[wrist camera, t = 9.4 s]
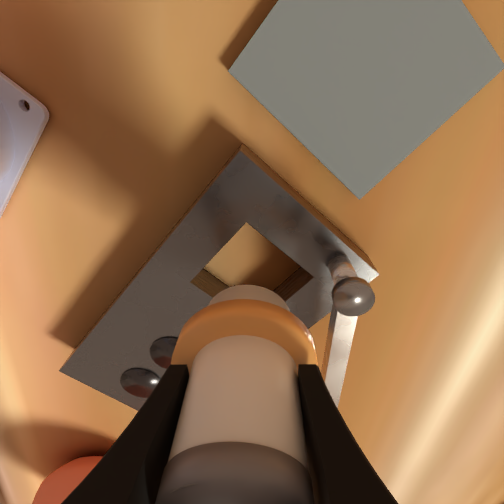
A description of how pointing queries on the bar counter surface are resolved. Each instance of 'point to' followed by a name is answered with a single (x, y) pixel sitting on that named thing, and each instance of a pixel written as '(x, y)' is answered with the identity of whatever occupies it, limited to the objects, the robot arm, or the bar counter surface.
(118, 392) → the grey lever panel
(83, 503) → the robot arm
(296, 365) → the plug
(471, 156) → the bar counter surface
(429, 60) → the mat
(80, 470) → the sugar bowl
